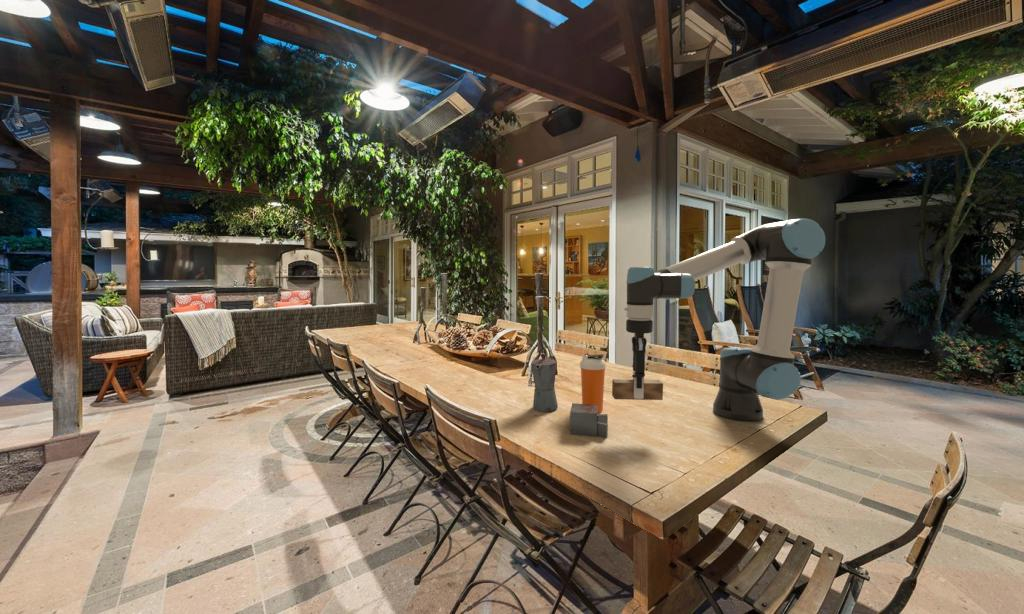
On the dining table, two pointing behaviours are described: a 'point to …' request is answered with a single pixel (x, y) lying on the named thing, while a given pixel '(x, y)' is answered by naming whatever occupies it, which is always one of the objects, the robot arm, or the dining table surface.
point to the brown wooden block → (626, 389)
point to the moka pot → (544, 384)
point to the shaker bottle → (593, 379)
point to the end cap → (588, 421)
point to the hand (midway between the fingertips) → (637, 395)
